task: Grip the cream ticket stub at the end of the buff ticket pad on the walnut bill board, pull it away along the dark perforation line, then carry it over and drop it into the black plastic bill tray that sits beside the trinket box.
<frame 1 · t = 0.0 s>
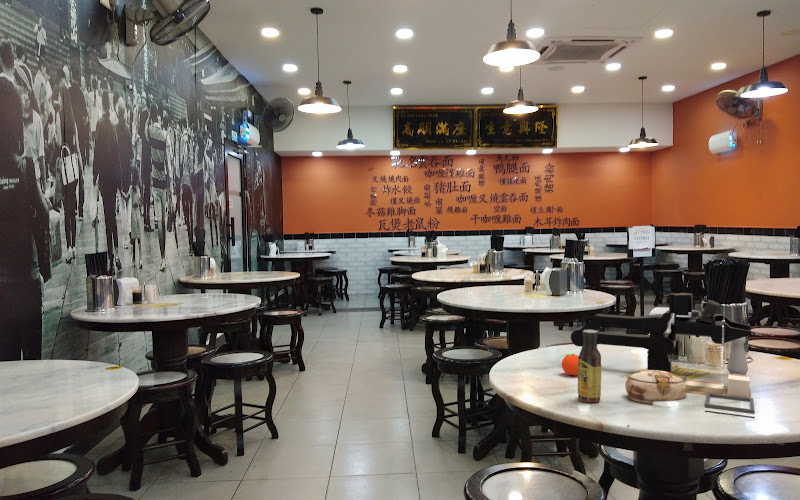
hand: (751, 330, 170), 17 cm above the table, tool horizontal, fingers open, 9 cm apart
bill board: (713, 394, 163), on the table
clementine: (570, 375, 186), on the table
trinket box: (655, 399, 161), on the table
salt shaker: (737, 376, 181), on the table
bill tray: (729, 408, 151), on the table
sauce bottle: (589, 401, 160), on the table
stub: (738, 393, 160), point 1 cm above the table, touching bill board
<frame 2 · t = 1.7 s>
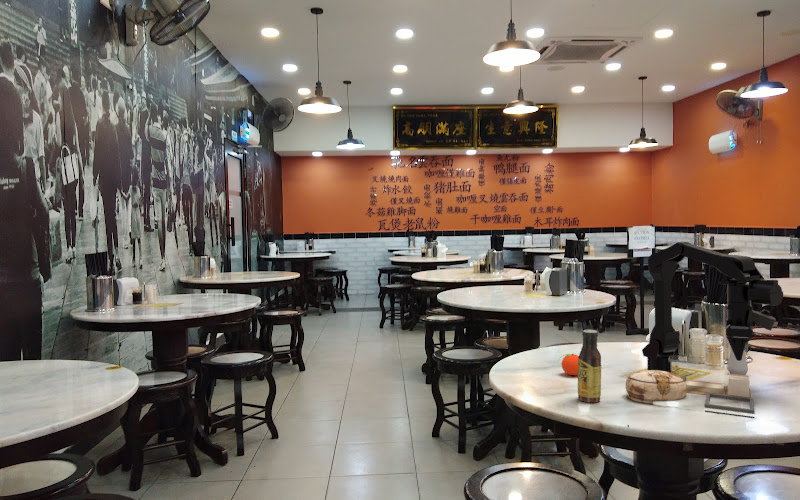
hand: (738, 356, 159), 11 cm above the table, tool pointing down, fingers open, 9 cm apart
nothing on the table moved.
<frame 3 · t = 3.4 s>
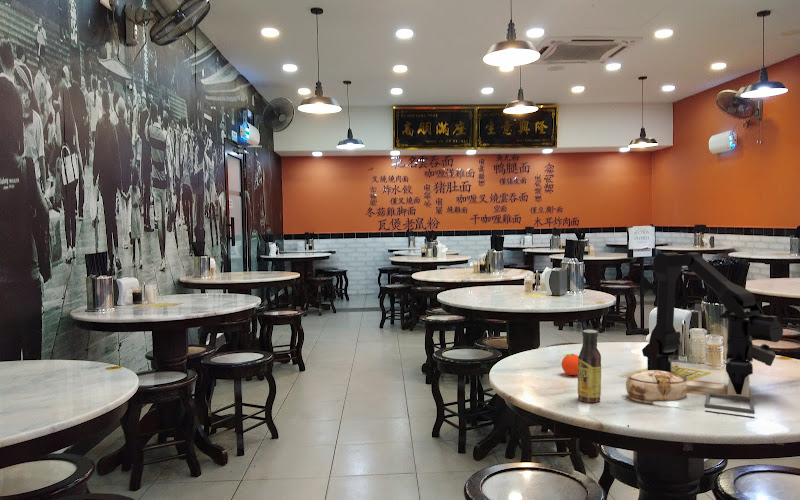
hand: (738, 390, 160), 2 cm above the table, tool pointing down, fingers closed on stub, 6 cm apart
stub: (738, 393, 160), point 1 cm above the table, touching bill board, gripper
everything else where it was.
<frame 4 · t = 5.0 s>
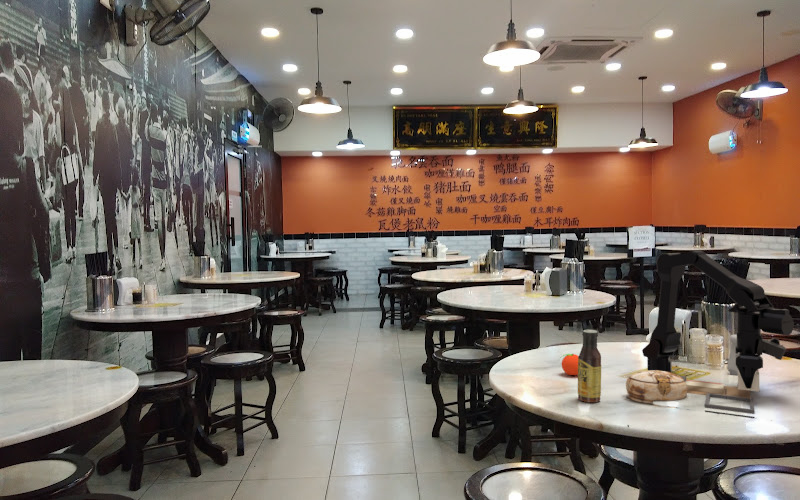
hand: (748, 385, 158), 4 cm above the table, tool pointing down, fingers closed on stub, 6 cm apart
stub: (748, 387, 158), point 3 cm above the table, touching gripper
everything else where it was.
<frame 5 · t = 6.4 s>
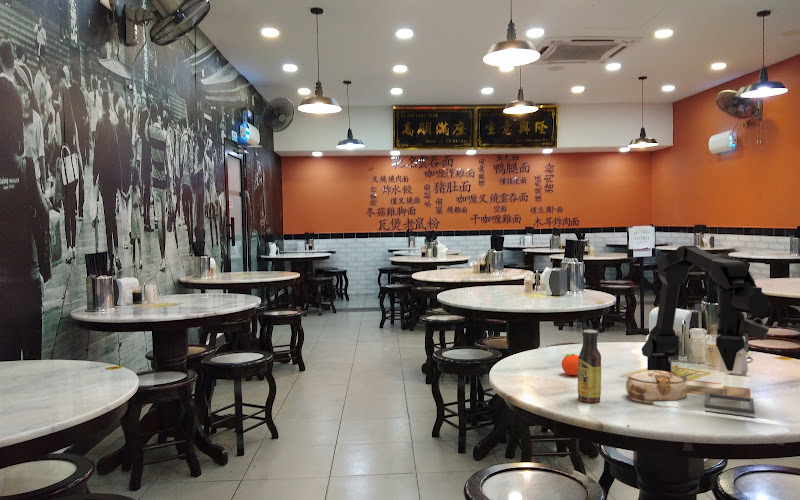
hand: (729, 367, 150), 11 cm above the table, tool pointing down, fingers closed on stub, 6 cm apart
stub: (730, 370, 150), point 10 cm above the table, touching gripper
everything else where it was.
when the fingers open (3 cm above the table, at t = 8.4 s): stub drops 2 cm, resting on bill tray.
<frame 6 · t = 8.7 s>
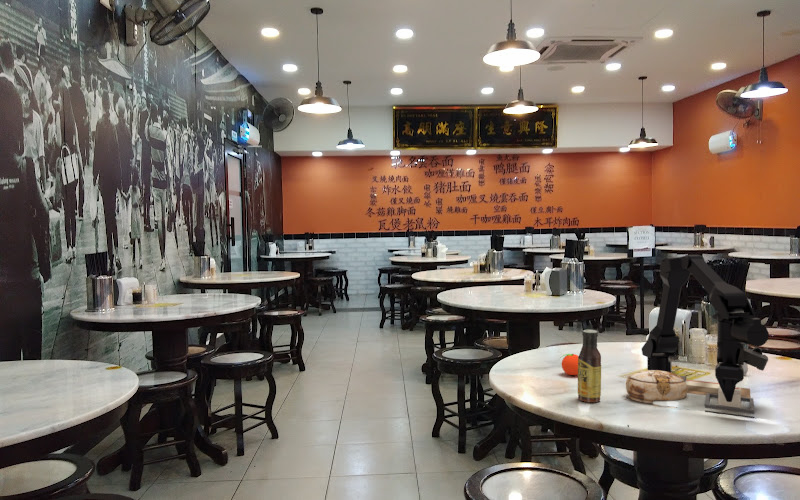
hand: (729, 396, 151), 3 cm above the table, tool pointing down, fingers open, 9 cm apart
stub: (729, 406, 151), point 1 cm above the table, touching bill tray
everything else where it was.
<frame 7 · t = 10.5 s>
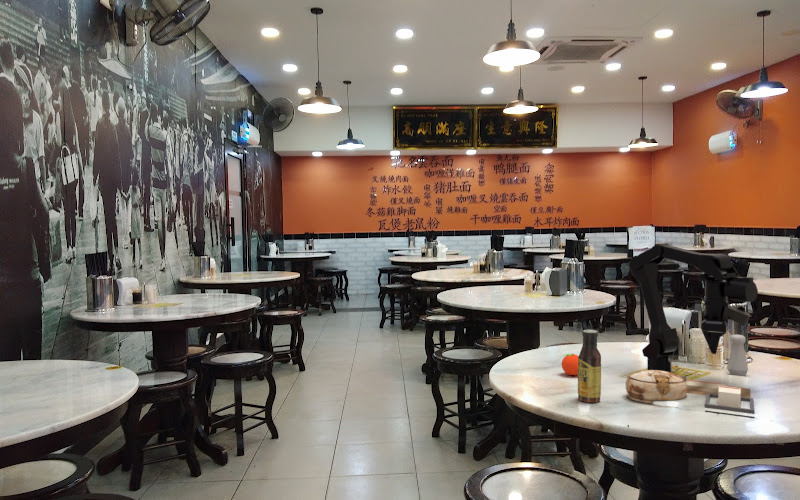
hand: (714, 350, 167), 12 cm above the table, tool pointing down, fingers open, 9 cm apart
nothing on the table moved.
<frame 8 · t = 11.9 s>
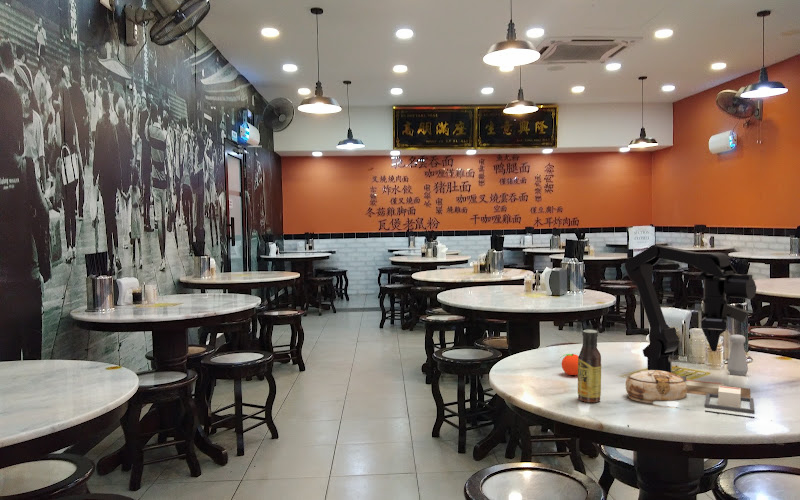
hand: (714, 347, 168), 12 cm above the table, tool pointing down, fingers open, 9 cm apart
nothing on the table moved.
at the end: stub inside the target area on the bill tray (0.1 cm from its centre), point 0.6 cm above the bill tray's base; stub 18.0 cm from the trinket box (horizontally); the gripper is holding nothing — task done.
